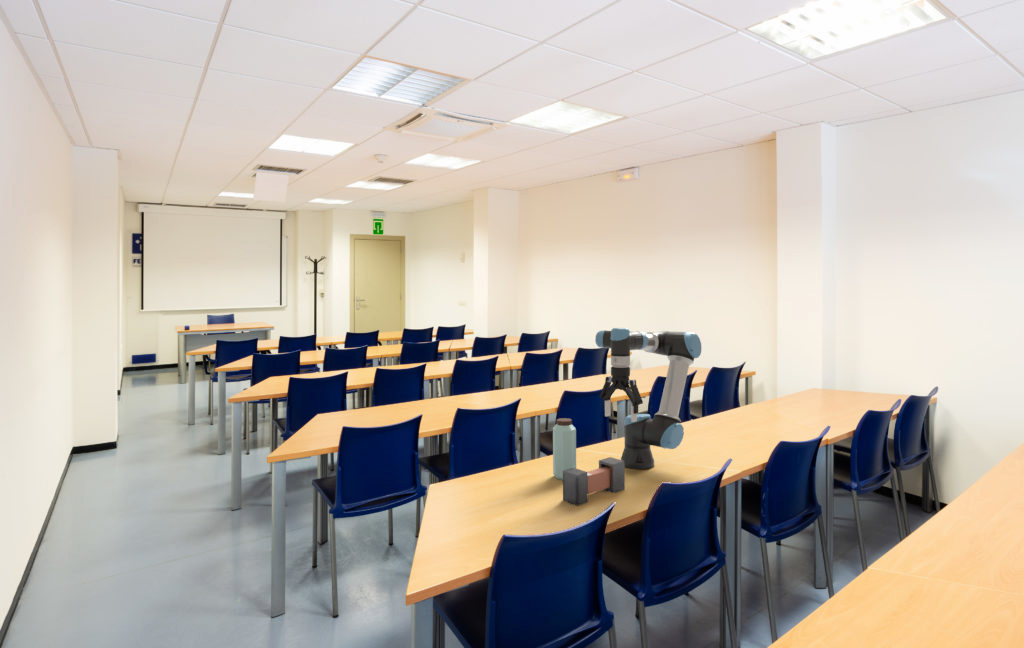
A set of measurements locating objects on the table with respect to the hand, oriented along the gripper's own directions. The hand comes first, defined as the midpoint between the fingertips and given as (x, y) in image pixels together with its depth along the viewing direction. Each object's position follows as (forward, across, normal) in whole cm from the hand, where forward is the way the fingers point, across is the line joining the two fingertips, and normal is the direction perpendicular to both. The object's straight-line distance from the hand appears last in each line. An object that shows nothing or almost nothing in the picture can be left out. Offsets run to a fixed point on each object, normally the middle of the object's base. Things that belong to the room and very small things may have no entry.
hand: (620, 418), depth 220 cm
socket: (+28, -2, -24) cm, 37 cm away
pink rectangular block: (+26, -2, -10) cm, 28 cm away
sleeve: (+28, -2, -3) cm, 29 cm away
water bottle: (+29, -25, -7) cm, 39 cm away
